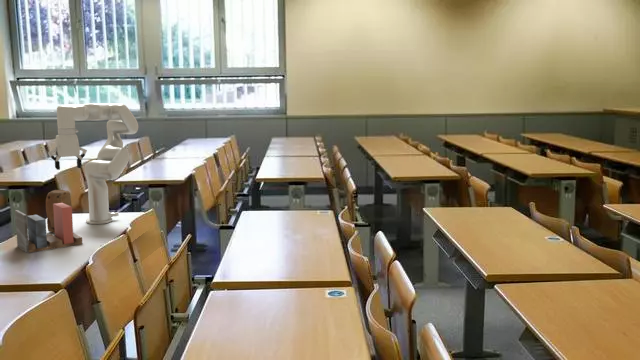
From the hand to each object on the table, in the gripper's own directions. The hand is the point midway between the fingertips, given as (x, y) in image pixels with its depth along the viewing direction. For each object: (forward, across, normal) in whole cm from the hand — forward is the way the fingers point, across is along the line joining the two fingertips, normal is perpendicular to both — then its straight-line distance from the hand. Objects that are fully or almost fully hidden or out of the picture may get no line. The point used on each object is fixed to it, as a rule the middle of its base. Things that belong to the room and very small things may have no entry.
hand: (68, 168), depth 283 cm
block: (+31, +5, -2) cm, 31 cm away
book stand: (+30, +16, +19) cm, 39 cm away
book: (+29, +10, +19) cm, 36 cm away
